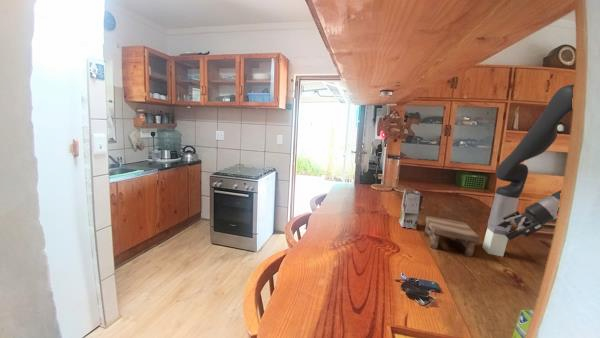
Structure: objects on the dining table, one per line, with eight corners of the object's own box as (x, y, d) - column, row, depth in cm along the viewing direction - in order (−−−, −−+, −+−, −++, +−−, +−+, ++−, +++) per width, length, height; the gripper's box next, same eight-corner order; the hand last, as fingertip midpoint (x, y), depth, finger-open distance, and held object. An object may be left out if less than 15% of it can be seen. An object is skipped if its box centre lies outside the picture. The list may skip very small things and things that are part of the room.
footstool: (422, 233, 113) (426, 215, 111) (460, 240, 109) (465, 222, 108) (430, 248, 98) (434, 228, 97) (474, 257, 95) (479, 237, 93)
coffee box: (416, 230, 115) (423, 195, 112) (401, 227, 116) (408, 193, 114) (412, 223, 124) (418, 190, 121) (398, 220, 125) (404, 188, 122)
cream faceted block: (482, 247, 105) (488, 224, 103) (496, 250, 104) (502, 226, 102) (488, 253, 100) (494, 229, 98) (503, 256, 99) (509, 232, 97)
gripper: (527, 197, 102) (487, 219, 107) (551, 207, 88) (504, 232, 93) (539, 212, 102) (499, 233, 106) (566, 225, 88) (518, 249, 93)
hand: (501, 233), depth 100 cm, fingers open, 8 cm apart
